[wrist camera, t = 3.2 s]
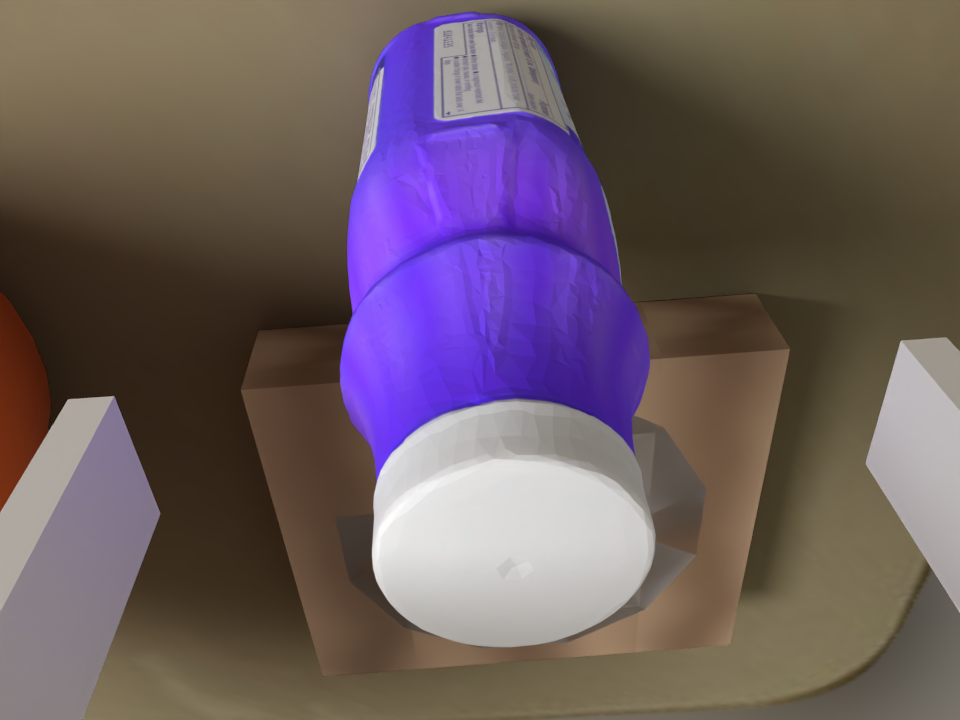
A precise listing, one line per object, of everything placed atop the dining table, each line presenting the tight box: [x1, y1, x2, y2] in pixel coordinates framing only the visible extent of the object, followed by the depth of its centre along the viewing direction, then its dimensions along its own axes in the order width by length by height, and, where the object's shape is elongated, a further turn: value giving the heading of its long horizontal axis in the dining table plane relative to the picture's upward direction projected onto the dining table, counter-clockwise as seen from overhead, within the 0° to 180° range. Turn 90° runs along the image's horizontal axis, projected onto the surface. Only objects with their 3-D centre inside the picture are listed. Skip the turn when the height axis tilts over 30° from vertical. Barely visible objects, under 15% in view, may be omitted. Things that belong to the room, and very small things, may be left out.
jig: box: [241, 294, 790, 677], centre depth 33 cm, size 18×16×4 cm
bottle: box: [340, 12, 656, 647], centre depth 18 cm, size 7×6×17 cm
